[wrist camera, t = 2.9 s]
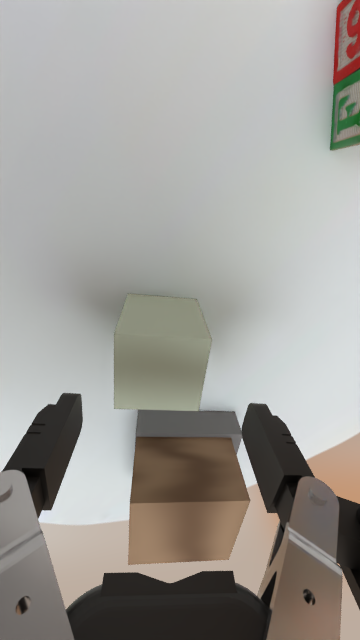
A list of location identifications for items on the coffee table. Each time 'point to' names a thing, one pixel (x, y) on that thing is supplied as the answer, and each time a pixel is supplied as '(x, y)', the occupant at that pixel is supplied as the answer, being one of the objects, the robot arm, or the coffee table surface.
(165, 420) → the charcoal slab
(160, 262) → the coffee table surface
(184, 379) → the sage block
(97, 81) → the coffee table surface
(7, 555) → the robot arm
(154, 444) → the walnut block
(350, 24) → the stack of blocks
